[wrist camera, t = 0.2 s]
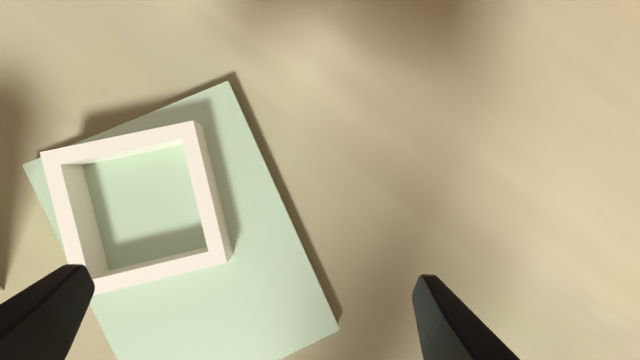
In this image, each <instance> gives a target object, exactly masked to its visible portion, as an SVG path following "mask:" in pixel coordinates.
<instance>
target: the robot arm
mask: <svg viewBox="0 0 640 360" xmlns="http://www.w3.org/2000/svg"><path fill="white" fill-rule="evenodd" d="M94 291H95V284H94V282H93V280H92V278H91V275H90V273H89V271H88V269H87V268H86V266H84V265H82V264H66V265H63V266H61V267H60V268H58V269H57V270H55V271H53V272H52V273H50V274H48V275H47V276H45V277H44V278H42V279H40V280H39V281H37V282H36V283H34V284H32V285H31V286H29V287H27V288H26V289H24V290H23V291H21V292H19V293H18V294H16V295H15V296H13V297H11V298H10V299H8V300H7V301H5V302H3V303H2V304H0V360H65V358H66V356H67V354H68V352H69V350H70V348H71V345H72V343H73V341H74V339H75V336H76V334H77V332H78V329H79V327H80V325H81V322H82V320H83V318H84V315H85V313H86V311H87V308H88V306H89V304H90V301H91V299H92V297H93V294H94ZM412 300H413V306H414V311H415V317H416V322H417V328H418V333H419V339H420V344H421V349H422V354H423V358H424V360H520V359H519V358H518V357H517V356H516V355H515V354H514V353H513V352H512V351H511V350H510V349H509V348H508V347H507V346H506V345H505V344H504V343H503V342H502V341H501V340H500V339H499V338H498V337H497V336H496V335H495V334H494V333H493V332H492V331H491V330H490V329H489V328H488V327H487V326H486V325H485V324H484V323H483V322H482V321H481V320H480V319H479V318H478V317H477V316H476V315H475V314H474V313H473V312H472V311H471V310H470V309H469V308H468V307H467V306H466V305H465V304H464V303H463V302H462V301H461V300H460V299H459V298H458V297H457V296H456V295H455V294H454V293H453V292H452V291H451V290H450V289H449V288H448V287H447V286H446V285H445V284H444V283H443V282H442V281H441V280H440V279H439V278H438V277H437V276H435V275H430V274H422V275H420V276H419V278H418V281H417V283H416V285H415V288H414V290H413V294H412Z"/></svg>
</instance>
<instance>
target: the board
mask: <svg viewBox="0 0 640 360" xmlns="http://www.w3.org/2000/svg"><path fill="white" fill-rule="evenodd" d="M188 121H195V122H197V123H199V124H201V125H202V126H203V129H204V134H205V138H206V142H207V146H208V150H209V155H210V159H211V163H212V167H213V171H214V176H215V180H216V184H217V188H218V192H219V197H220V201H221V205H222V209H223V213H224V218H225V222H226V226H227V230H228V234H229V239H230V243H231V247H232V251H233V256H232V257H231V258H230V260H229V261H228V262H227V263H223V264H219V265H215V266H211V267H207V268H203V269H199V270H195V271H191V272H187V273H183V274H179V275H175V276H171V277H167V278H163V279H158V280H154V281H150V282H146V283H142V284H138V285H134V286H130V287H126V288H122V289H118V290H114V291H110V292H106V293H102V294H98V295H93V297H92V299H91V301H90V306H91V308H92V310H93V312H94V314H95V316H96V318H97V320H98V322H99V324H100V326H101V328H102V330H103V332H104V334H105V336H106V338H107V341H108V343H109V345H110V347H111V349H112V351H113V353H114V355H115V357H116V359H117V360H280V359H282V358H284V357H286V356H288V355H290V354H292V353H294V352H296V351H298V350H300V349H302V348H304V347H306V346H308V345H310V344H313V343H315V342H317V341H319V340H321V339H323V338H325V337H327V336H329V335H331V334H333V333H335V332H337V331H339V330H340V329H339V325H338V323H337V320H336V318H335V316H334V314H333V311H332V309H331V307H330V305H329V303H328V300H327V298H326V296H325V294H324V291H323V289H322V287H321V285H320V283H319V280H318V278H317V276H316V274H315V271H314V269H313V267H312V265H311V262H310V260H309V258H308V256H307V254H306V251H305V249H304V247H303V245H302V242H301V240H300V238H299V236H298V233H297V231H296V229H295V227H294V225H293V222H292V220H291V218H290V216H289V213H288V211H287V209H286V207H285V204H284V202H283V200H282V198H281V196H280V193H279V191H278V189H277V187H276V184H275V182H274V180H273V178H272V176H271V173H270V171H269V169H268V167H267V164H266V162H265V160H264V158H263V155H262V153H261V151H260V149H259V147H258V144H257V142H256V140H255V138H254V135H253V133H252V131H251V129H250V126H249V124H248V122H247V120H246V118H245V115H244V113H243V111H242V109H241V106H240V104H239V102H238V100H237V97H236V95H235V93H234V91H233V89H232V86H231V84H230V83H229V81H226V82H223V83H221V84H218V85H216V86H213V87H211V88H209V89H206V90H204V91H201V92H199V93H196V94H194V95H191V96H189V97H187V98H184V99H182V100H179V101H177V102H174V103H172V104H170V105H167V106H165V107H162V108H160V109H157V110H155V111H152V112H150V113H148V114H145V115H143V116H140V117H138V118H135V119H133V120H130V121H128V122H126V123H123V124H121V125H118V126H116V127H113V128H111V129H108V130H106V131H104V132H101V133H99V134H96V135H94V136H91V137H89V138H87V139H84V140H82V141H79V142H77V143H74V144H72V145H77V144H82V143H87V142H91V141H96V140H101V139H106V138H111V137H115V136H120V135H125V134H130V133H135V132H140V131H144V130H149V129H154V128H159V127H164V126H168V125H173V124H178V123H183V122H188ZM72 145H69V146H72ZM22 166H23V168H24V170H25V172H26V174H27V176H28V178H29V180H30V182H31V184H32V186H33V188H34V190H35V193H36V195H37V197H38V199H39V201H40V203H41V205H42V207H43V209H44V211H45V213H46V215H47V217H48V219H49V221H50V223H51V225H52V227H53V230H54V232H55V234H56V236H57V238H58V240H59V242H60V244H61V246H62V248H63V250H64V246H63V242H62V238H61V234H60V230H59V226H58V223H57V219H56V215H55V211H54V207H53V203H52V199H51V195H50V191H49V187H48V183H47V179H46V175H45V171H44V167H43V164H42V160H41V157H40V158H38V159H35V160H33V161H30V162H28V163H25V164H23V165H22ZM83 169H84V173H85V177H86V181H87V185H88V189H89V193H90V197H91V201H92V205H93V209H94V213H95V217H96V221H97V225H98V229H99V233H100V237H101V241H102V245H103V249H104V253H105V257H106V261H107V265H108V269H109V270H113V269H117V268H121V267H126V266H130V265H134V264H138V263H142V262H146V261H150V260H155V259H159V258H163V257H167V256H171V255H175V254H180V253H184V252H188V251H192V250H196V249H200V248H204V247H207V244H206V240H205V236H204V231H203V227H202V223H201V219H200V215H199V211H198V207H197V202H196V198H195V194H194V190H193V186H192V182H191V177H190V173H189V169H188V165H187V161H186V157H185V152H184V148H183V144H182V145H177V146H172V147H168V148H163V149H158V150H153V151H149V152H144V153H139V154H135V155H130V156H125V157H121V158H116V159H111V160H107V161H102V162H97V163H92V164H88V165H83ZM64 252H65V250H64Z"/></svg>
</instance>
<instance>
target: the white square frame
mask: <svg viewBox="0 0 640 360" xmlns="http://www.w3.org/2000/svg"><path fill="white" fill-rule="evenodd" d="M182 144H183V148H184V152H185V157H186V161H187V165H188V169H189V173H190V177H191V182H192V186H193V190H194V194H195V198H196V202H197V207H198V211H199V215H200V219H201V223H202V227H203V231H204V236H205V240H206V244H207V247H204V248H200V249H196V250H192V251H188V252H184V253H180V254H175V255H171V256H167V257H163V258H159V259H155V260H150V261H146V262H142V263H138V264H134V265H130V266H126V267H121V268H117V269H113V270H109V269H108V265H107V261H106V257H105V253H104V249H103V245H102V241H101V237H100V233H99V229H98V225H97V221H96V217H95V213H94V209H93V205H92V201H91V197H90V193H89V189H88V185H87V181H86V177H85V173H84V169H83V165H88V164H92V163H97V162H102V161H107V160H111V159H116V158H121V157H125V156H130V155H135V154H139V153H144V152H149V151H153V150H158V149H163V148H168V147H172V146H177V145H182ZM40 156H41V160H42V164H43V167H44V171H45V175H46V179H47V183H48V187H49V191H50V195H51V199H52V203H53V207H54V211H55V215H56V219H57V223H58V226H59V230H60V234H61V238H62V242H63V246H64V250H65V254H66V258H67V262H68V264H82V265H84V266H86V268H87V269H88V271H89V273H90V275H91V278H92V280H93V282H94V284H95V291H94V294H93V295H98V294H102V293H106V292H110V291H114V290H118V289H122V288H126V287H130V286H134V285H138V284H142V283H146V282H150V281H154V280H158V279H163V278H167V277H171V276H175V275H179V274H183V273H187V272H191V271H195V270H199V269H203V268H207V267H211V266H215V265H219V264H223V263H227V262H228V261H229V260H230V258H231V257H232V256H233V251H232V247H231V243H230V239H229V234H228V230H227V226H226V222H225V218H224V213H223V209H222V205H221V201H220V197H219V192H218V188H217V184H216V180H215V176H214V171H213V167H212V163H211V159H210V155H209V150H208V146H207V142H206V138H205V134H204V129H203V126H202V125H201V124H199V123H197V122H195V121H188V122H183V123H178V124H173V125H168V126H164V127H159V128H154V129H149V130H144V131H140V132H135V133H130V134H125V135H120V136H115V137H111V138H106V139H101V140H96V141H91V142H87V143H82V144H77V145H72V146H67V147H62V148H58V149H53V150H48V151H43V152H40Z"/></svg>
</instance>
